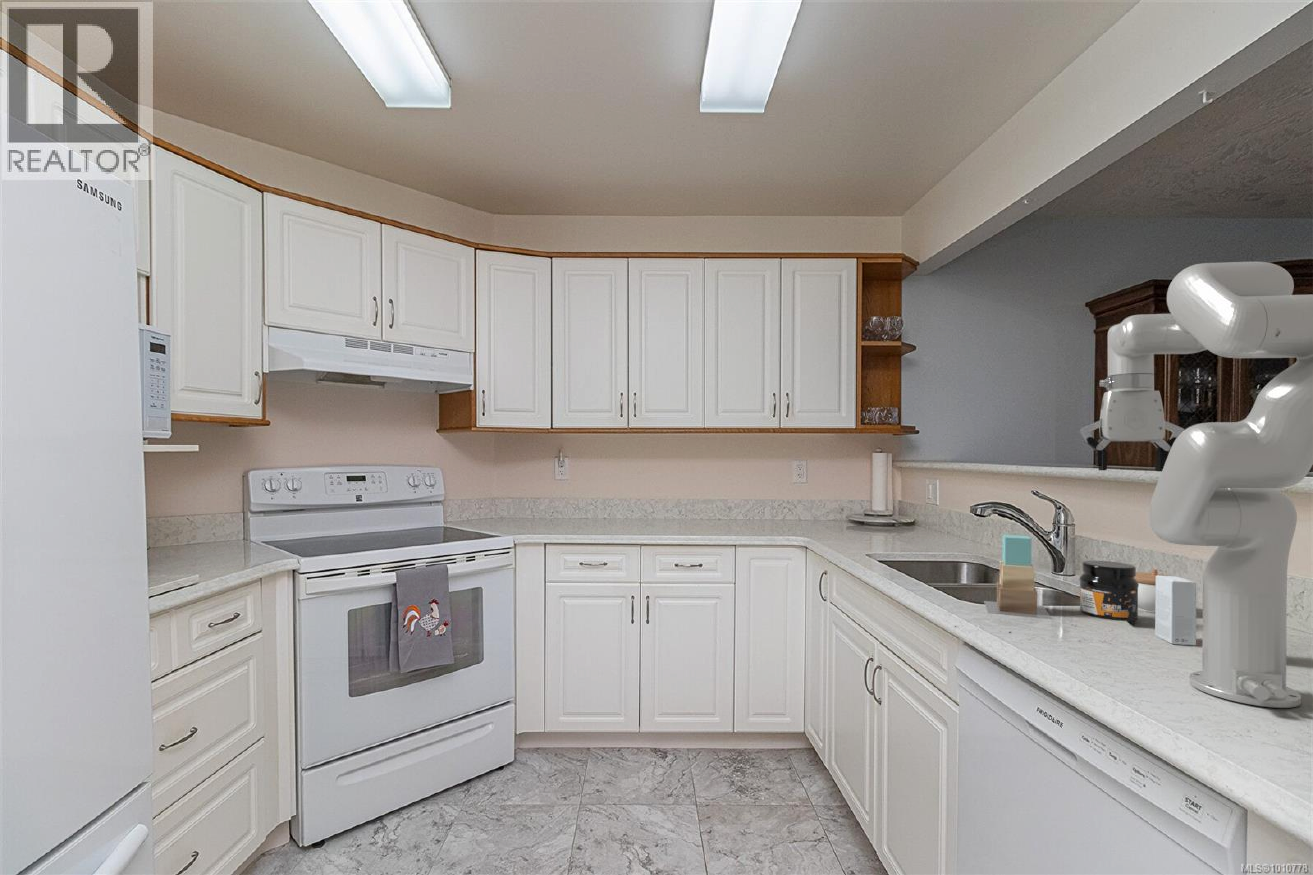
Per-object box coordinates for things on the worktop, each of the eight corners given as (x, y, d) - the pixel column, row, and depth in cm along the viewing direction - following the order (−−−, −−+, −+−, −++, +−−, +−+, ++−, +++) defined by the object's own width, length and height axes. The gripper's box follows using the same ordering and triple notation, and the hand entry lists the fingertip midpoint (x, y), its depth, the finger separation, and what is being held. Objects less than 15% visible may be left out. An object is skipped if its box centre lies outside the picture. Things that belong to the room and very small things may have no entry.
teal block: (1031, 566, 141) (1031, 538, 142) (1005, 565, 143) (1005, 537, 143) (1027, 563, 146) (1027, 536, 146) (1002, 561, 148) (1002, 534, 148)
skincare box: (1197, 646, 123) (1197, 582, 123) (1171, 644, 124) (1171, 581, 124) (1178, 637, 129) (1178, 576, 129) (1153, 635, 130) (1154, 574, 130)
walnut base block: (1036, 614, 140) (1037, 591, 140) (1000, 611, 143) (1000, 588, 143) (1031, 607, 147) (1032, 585, 147) (996, 604, 149) (996, 582, 149)
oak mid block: (1034, 590, 141) (1034, 567, 141) (1002, 588, 143) (1002, 565, 143) (1029, 585, 146) (1029, 562, 146) (999, 582, 149) (999, 560, 149)
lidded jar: (1128, 602, 158) (1128, 563, 158) (1185, 610, 151) (1185, 569, 151) (1123, 611, 149) (1123, 569, 150) (1183, 619, 142) (1183, 576, 143)
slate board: (1052, 624, 137) (1052, 619, 137) (988, 618, 141) (988, 612, 141) (1042, 611, 148) (1042, 606, 148) (983, 605, 152) (983, 600, 152)
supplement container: (1077, 620, 140) (1077, 564, 141) (1081, 611, 149) (1081, 558, 149) (1138, 629, 134) (1138, 570, 134) (1138, 618, 143) (1138, 563, 143)
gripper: (1085, 384, 131) (1085, 470, 130) (1191, 382, 125) (1191, 472, 124) (1075, 388, 138) (1075, 469, 137) (1175, 386, 132) (1176, 471, 131)
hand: (1130, 470), depth 131 cm, fingers open, 9 cm apart
